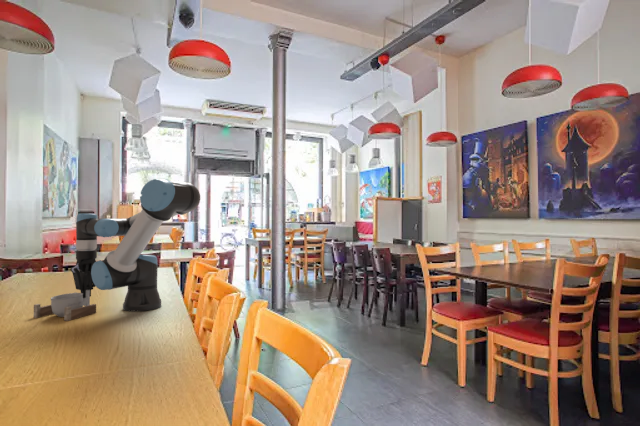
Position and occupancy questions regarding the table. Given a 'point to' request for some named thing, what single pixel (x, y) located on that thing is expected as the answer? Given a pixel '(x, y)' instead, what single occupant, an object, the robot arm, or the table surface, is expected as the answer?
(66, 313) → the brown parallel rails
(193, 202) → the robot arm
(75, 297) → the teacup
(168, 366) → the table surface
